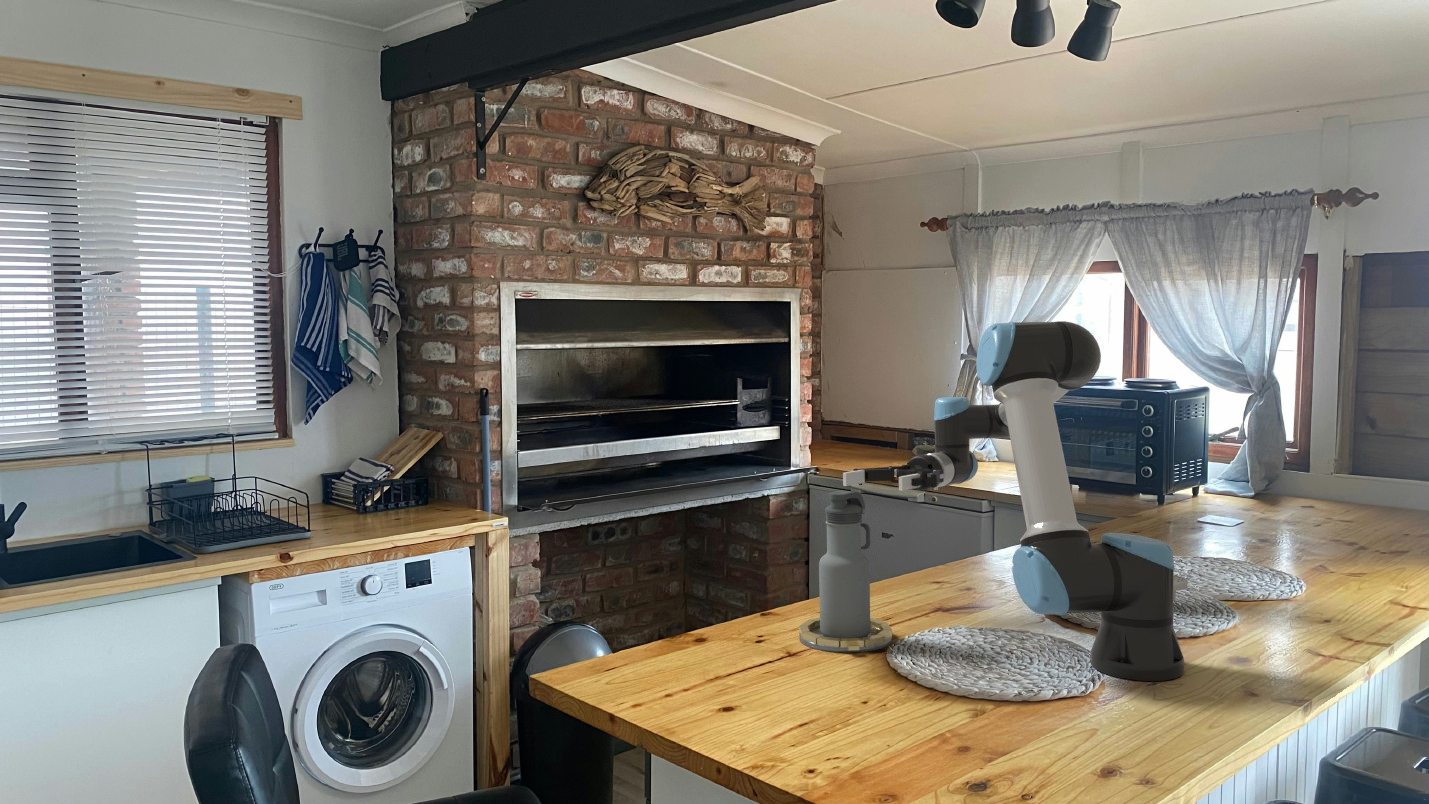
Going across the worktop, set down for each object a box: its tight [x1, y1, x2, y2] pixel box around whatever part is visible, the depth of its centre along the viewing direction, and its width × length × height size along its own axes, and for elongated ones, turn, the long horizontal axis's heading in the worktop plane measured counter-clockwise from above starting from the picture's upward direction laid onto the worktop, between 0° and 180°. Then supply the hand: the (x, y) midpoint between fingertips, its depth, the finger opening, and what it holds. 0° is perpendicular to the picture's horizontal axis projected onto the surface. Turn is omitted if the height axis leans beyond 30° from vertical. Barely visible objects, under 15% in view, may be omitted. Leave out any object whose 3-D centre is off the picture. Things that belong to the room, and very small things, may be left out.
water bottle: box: [818, 490, 871, 639], centre depth 198 cm, size 10×10×28 cm
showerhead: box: [1173, 574, 1189, 602], centre depth 216 cm, size 9×7×10 cm
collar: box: [798, 617, 893, 654], centre depth 199 cm, size 22×18×2 cm
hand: (871, 481), depth 205 cm, fingers open, 13 cm apart
